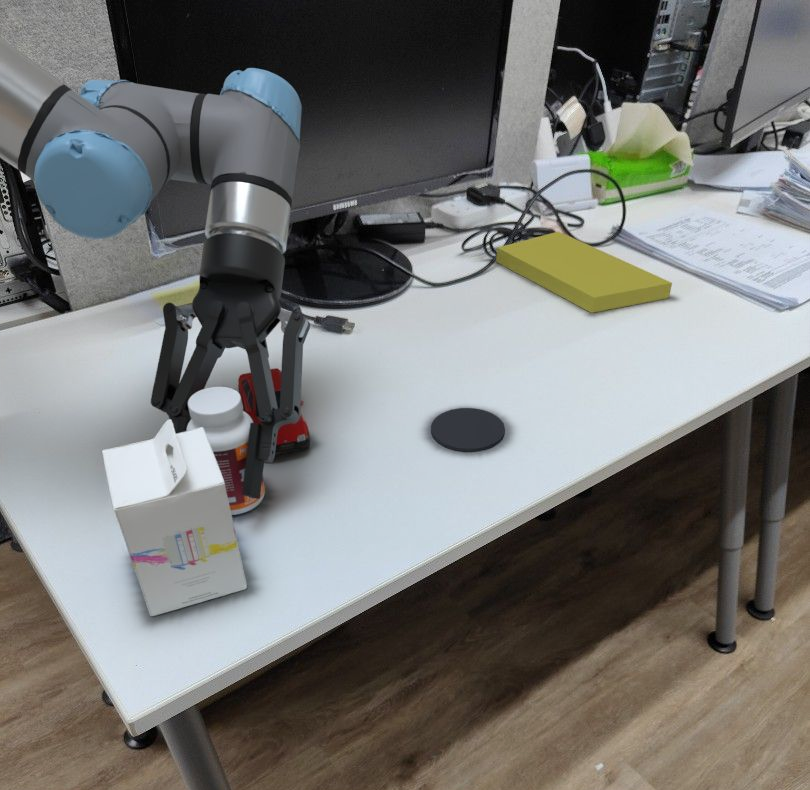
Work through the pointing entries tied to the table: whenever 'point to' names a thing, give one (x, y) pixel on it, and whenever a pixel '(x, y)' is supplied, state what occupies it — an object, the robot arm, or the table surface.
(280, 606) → the table surface
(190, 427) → the pill bottle
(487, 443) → the coaster
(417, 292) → the table surface
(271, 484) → the table surface
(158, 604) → the ink box
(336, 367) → the table surface
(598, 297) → the flat mustard tile
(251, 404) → the toy car
